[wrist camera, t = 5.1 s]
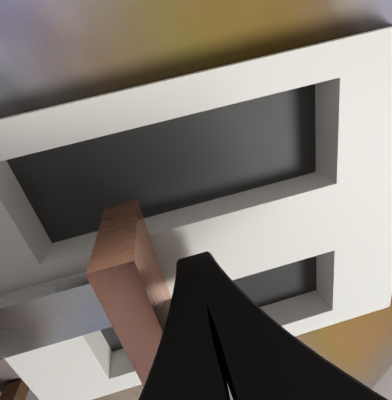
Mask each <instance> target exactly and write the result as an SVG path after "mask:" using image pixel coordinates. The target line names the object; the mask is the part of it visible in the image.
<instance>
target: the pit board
mask: <svg viewBox="0 0 392 400" xmlns="http://www.w3.org/2000/svg"><path fill="white" fill-rule="evenodd" d="M134 200H138V203H139V206H140V208H141V211H142V214H143V217H144V220H145V223H146V226H147V229H148V232H149V235H150V237H151V240H152V243H153V246H154V249H155V252H156V255H157V258H158V261H159V264H160V266H161V269H162V272H163V275H164V278H165V281H166V284H167V287H168V290H169V293H170V295H171V298H172V294H173V289H174V283H175V277H176V263H177V261H178V260H179V259H181V258H185V257H188V256H192V255H196V254H199V253H203V252H206V251H208V252H209V253H211V254H212V256H213V257H214V259H215V260H216V262H217V263H218V264H219V266H220V267H221V268H222V269H223V270H224V272H225V273H226V274H227V275H228V276H229V277H230V279H231V280H232V281H233V282H234V283H235V284H236V285H237V286H238V287H239V288H240V289H241V290H242V291H243V292H244V293H245V294H246V295H247V296H248V297H249V298H250V299H251V300H252V301H253V302H254V303H255V304H256V305H258V306H259V307H260V308H261V309H262V310H263V311H264V312H265V313H266V314H268V315H269V316H270V317H271V318H272V319H273V320H275V321H276V322H277V323H278V324H279V325H281V326H282V327H283V328H284V329H286V330H287V331H288V332H289V333H291V334H292V335H293V336H297V335H300V334H304V333H307V332H310V331H313V330H316V329H320V328H323V327H326V326H329V325H332V324H336V323H339V322H342V321H345V320H348V319H352V318H355V317H358V316H361V315H364V314H368V313H371V312H374V311H377V310H380V309H384V308H387V307H390V301H391V295H392V26H389V27H384V28H380V29H376V30H372V31H367V32H363V33H359V34H355V35H350V36H346V37H342V38H338V39H333V40H329V41H325V42H321V43H317V44H312V45H308V46H304V47H300V48H295V49H291V50H287V51H283V52H278V53H274V54H270V55H266V56H262V57H257V58H253V59H249V60H245V61H240V62H236V63H232V64H228V65H223V66H219V67H215V68H211V69H207V70H202V71H198V72H194V73H190V74H185V75H181V76H177V77H173V78H168V79H164V80H160V81H156V82H152V83H147V84H143V85H139V86H135V87H130V88H126V89H122V90H118V91H113V92H109V93H105V94H101V95H97V96H92V97H88V98H84V99H80V100H75V101H71V102H67V103H63V104H58V105H54V106H50V107H46V108H41V109H37V110H33V111H29V112H25V113H20V114H16V115H12V116H8V117H3V118H0V295H2V294H6V293H9V292H13V291H16V290H20V289H23V288H27V287H31V286H34V285H38V284H41V283H45V282H48V281H52V280H56V279H59V278H63V277H66V276H70V275H73V274H77V273H81V272H84V271H87V267H88V264H89V261H90V257H91V254H92V250H93V247H94V244H95V240H96V237H97V233H98V230H99V227H100V223H101V220H102V216H103V213H104V210H105V208H108V207H112V206H115V205H119V204H123V203H127V202H130V201H134ZM4 359H5V360H6V361H7V362H8V364H9V365H10V366H11V367H12V368H13V370H14V371H15V372H16V373H17V374H18V375H19V377H20V378H21V379H22V380H23V381H24V382H25V384H26V385H27V386H28V387H29V388H30V389H31V391H32V392H33V393H34V394H35V395H36V396H37V398H38V399H39V400H92V399H96V398H99V397H102V396H105V395H108V394H112V393H115V392H118V391H121V390H124V389H128V388H131V387H134V386H137V385H140V384H142V383H141V381H140V379H139V377H138V375H137V373H136V371H135V369H134V367H133V365H132V363H131V362H130V360H129V358H128V356H127V354H126V352H125V350H124V348H123V346H122V344H121V342H120V340H119V338H118V336H117V334H116V333H115V331H114V329H113V327H109V328H106V329H102V330H99V331H96V332H92V333H89V334H85V335H82V336H79V337H75V338H72V339H69V340H65V341H62V342H58V343H55V344H52V345H48V346H45V347H41V348H38V349H35V350H31V351H28V352H25V353H21V354H18V355H14V356H11V357H8V358H4Z"/></svg>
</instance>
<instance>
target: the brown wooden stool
mask: <svg viewBox="0 0 392 400" xmlns="http://www.w3.org/2000/svg"><path fill="white" fill-rule="evenodd" d="M28 390H29V387H28V386H27V385H26V384H25V382H24V381H23V380H22V379H21V380H17V381H14V382H11V383H7V384H6V385H5V387H4V390H3V392H2V394H1V396H0V400H25V399H26V396H27V393H28Z"/></svg>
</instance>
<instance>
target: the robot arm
mask: <svg viewBox="0 0 392 400" xmlns="http://www.w3.org/2000/svg"><path fill="white" fill-rule="evenodd" d="M226 380H227V381H226ZM227 383H228V386H229V389H230V392H231V394H232V397H233V400H387V399H386V398H384V397H383V396H381V395H379V394H378V393H376V392H374V391H373V390H371V389H370V388H368V387H367V386H365V385H364V384H362V383H361V382H359V381H358V380H356V379H355V378H353V377H352V376H350V375H349V374H347V373H345V372H344V371H342V370H341V369H339V368H338V367H336V366H335V365H333V364H332V363H330V362H329V361H327V360H326V359H324V358H323V357H322V356H320V355H319V354H317V353H316V352H315V351H313V350H312V349H311V348H309V347H308V346H306V345H305V344H304V343H302V342H301V341H300V340H298V339H297V338H296V337H295V336H293V335H292V334H291V333H289V332H288V331H287V330H286V329H284V328H283V327H282V326H281V325H279V324H278V323H277V322H276V321H275V320H273V319H272V318H271V317H270V316H269V315H268V314H266V313H265V312H264V311H263V310H262V309H261V308H260V307H259V306H258V305H256V304H255V303H254V302H253V301H252V300H251V299H250V298H249V297H248V296H247V295H246V294H245V293H244V292H243V291H242V290H241V289H240V288H239V287H238V286H237V285H236V284H235V283H234V282H233V281H232V280H231V279H230V277H229V276H228V275H227V274H226V273H225V272H224V270H223V269H222V268H221V267H220V266H219V264H218V263H217V262H216V260H215V259H214V257H213V256H212V254H211V253H209V252H208V251H206V252H203V253H199V254H196V255H192V256H188V257H185V258H181V259H179V260H178V261H177V263H176V277H175V283H174V289H173V294H172V299H171V303H170V308H169V312H168V316H167V320H166V323H165V327H164V330H163V333H162V337H161V340H160V344H159V347H158V350H157V353H156V356H155V359H154V361H153V364H152V367H151V370H150V372H149V375H148V378H147V380H146V383H145V385H144V388H143V390H142V393H141V395H140V398H139V400H230V397H229V391H228V386H227Z"/></svg>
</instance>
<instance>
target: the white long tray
mask: <svg viewBox="0 0 392 400" xmlns="http://www.w3.org/2000/svg"><path fill="white" fill-rule="evenodd" d="M171 299H172V298H171V295H170V293H169V290H168V287H167V284H166V281H165V278H164V275H163V272H162V269H161V266H160V264H159V261H158V258H157V255H156V252H155V249H154V246H153V243H152V240H151V237H150V235H149V232H148V229H147V226H146V223H145V220H144V217H143V214H142V211H141V208H140V206H139V203H138V200H134V201H130V202H127V203H123V204H119V205H115V206H112V207H108V208H105V210H104V213H103V216H102V220H101V223H100V227H99V230H98V233H97V237H96V240H95V244H94V247H93V250H92V254H91V257H90V261H89V264H88V267H87V271H84V272H81V273H77V274H73V275H70V276H66V277H63V278H59V279H56V280H52V281H48V282H45V283H41V284H38V285H34V286H31V287H27V288H23V289H20V290H16V291H13V292H9V293H6V294H2V295H0V360H1V359H4V358H8V357H11V356H14V355H18V354H21V353H25V352H28V351H31V350H35V349H38V348H41V347H45V346H48V345H52V344H55V343H58V342H62V341H65V340H69V339H72V338H75V337H79V336H82V335H85V334H89V333H92V332H96V331H99V330H102V329H106V328H109V327H113V329H114V331H115V333H116V334H117V336H118V338H119V340H120V342H121V344H122V346H123V348H124V350H125V352H126V354H127V356H128V358H129V360H130V362H131V363H132V365H133V367H134V369H135V371H136V373H137V375H138V377H139V379H140V381H141V383H142V385H143V387H144V385H145V383H146V380H147V378H148V375H149V372H150V370H151V367H152V364H153V361H154V359H155V356H156V353H157V350H158V347H159V344H160V340H161V337H162V333H163V330H164V327H165V323H166V320H167V316H168V312H169V308H170V303H171Z"/></svg>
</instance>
